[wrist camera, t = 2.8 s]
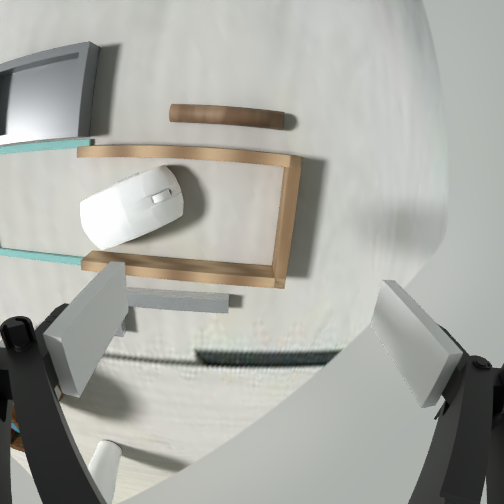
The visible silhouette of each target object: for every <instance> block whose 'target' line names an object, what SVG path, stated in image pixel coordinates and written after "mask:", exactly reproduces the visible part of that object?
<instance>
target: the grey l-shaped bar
mask: <svg viewBox="0 0 504 504" xmlns="http://www.w3.org/2000/svg"><path fill="white" fill-rule="evenodd" d="M127 298H128V306H131V307H142V308H154V309H166V310H180V311H194V312H211V313H228V309H229V294H223V293H205V292H188V291H173V290H158V289H145V288H133V287H127ZM126 331H127V328H126V321H125V318H124V320H123V321H122V323H121V325H120V326H119V328H118V330H117V331H116V333H115V335H114V336H119V337H123V336H124V334H125V333H126Z"/></svg>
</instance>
